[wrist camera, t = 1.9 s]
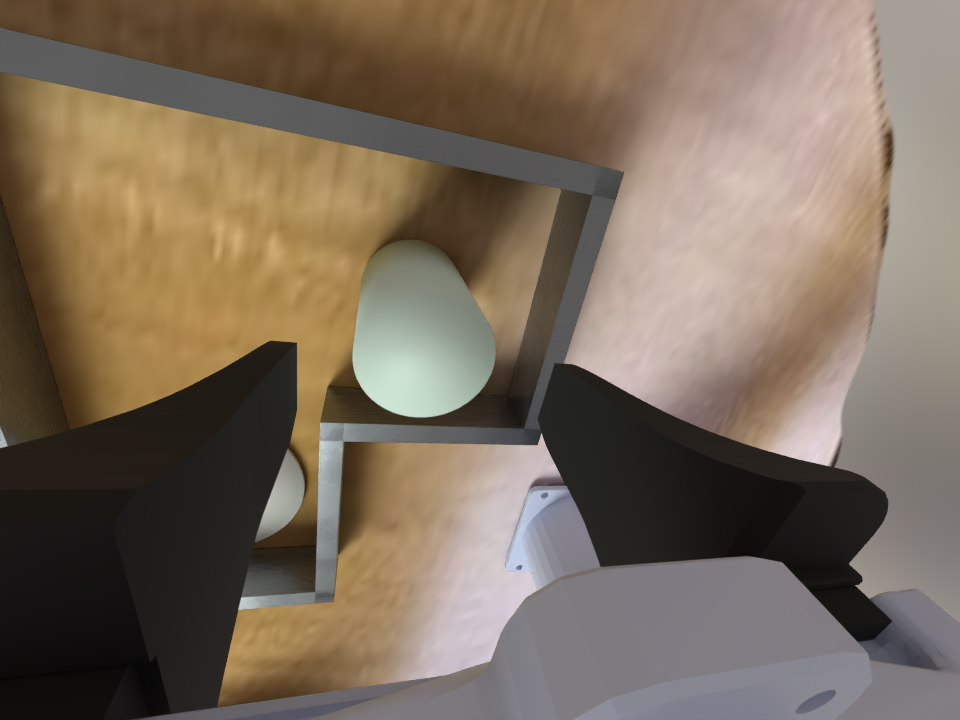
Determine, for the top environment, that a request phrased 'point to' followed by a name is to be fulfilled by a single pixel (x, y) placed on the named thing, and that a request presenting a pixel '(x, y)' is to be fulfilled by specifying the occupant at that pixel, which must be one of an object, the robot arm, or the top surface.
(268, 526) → the end pad
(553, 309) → the grey notched frame
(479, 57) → the top surface
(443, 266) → the peg
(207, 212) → the top surface
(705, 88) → the top surface
